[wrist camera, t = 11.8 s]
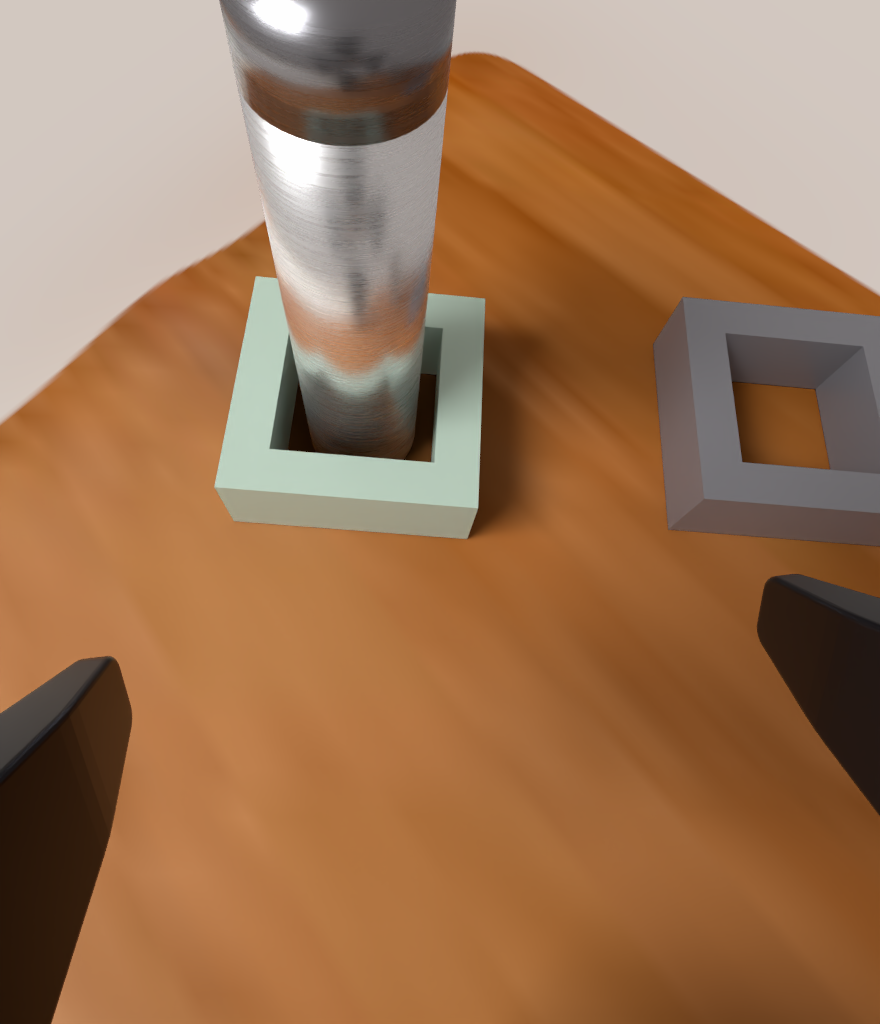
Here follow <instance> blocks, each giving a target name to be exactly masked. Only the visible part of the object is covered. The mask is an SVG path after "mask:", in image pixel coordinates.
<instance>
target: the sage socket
mask: <svg viewBox="0 0 880 1024" xmlns="http://www.w3.org/2000/svg"><path fill="white" fill-rule="evenodd" d="M484 320H485V299H483V298H472V297H462V296H452V295H442V294H431V293H428V300H427V311H426V321H425V332H424V342H423V353H422V363H421V374H432V375H436V391H435V406H434V422H433V438H432V453H431V462H420V461H408V460H396V459H384V458H372V457H360V456H348V455H336V454H324V453H312V452H300V451H288V446H289V440H290V433H291V427H292V421H293V414H294V408H295V401H296V395H297V388H298V382H299V378H298V373H297V369H296V364H295V359H294V354H293V350H292V345H291V340H290V335H289V330H288V326H287V321H286V316H285V311H284V307H283V302H282V297H281V292H280V287H279V283H278V278H268V277H258V276H256V279H255V284H254V289H253V294H252V299H251V304H250V309H249V314H248V319H247V325H246V330H245V335H244V340H243V345H242V350H241V355H240V360H239V365H238V370H237V375H236V380H235V385H234V390H233V395H232V401H231V406H230V411H229V416H228V421H227V426H226V431H225V436H224V441H223V446H222V451H221V456H220V461H219V466H218V472H217V477H216V482H215V489H216V491H217V493H218V494H219V496H220V498H221V499H222V501H223V503H224V505H225V506H226V508H227V510H228V511H229V513H230V515H231V517H232V518H233V520H234V521H240V522H253V523H266V524H279V525H292V526H305V527H318V528H331V529H344V530H357V531H370V532H383V533H396V534H408V535H421V536H434V537H447V538H460V539H467V538H468V535H469V532H470V530H471V527H472V524H473V521H474V519H475V516H476V513H477V510H478V500H479V470H480V440H481V410H482V380H483V350H484Z"/></svg>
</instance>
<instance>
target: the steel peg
mask: <svg viewBox="0 0 880 1024" xmlns="http://www.w3.org/2000/svg"><path fill="white" fill-rule="evenodd" d="M219 1H220V5H221V10H222V15H223V19H224V24H225V29H226V34H227V39H228V44H229V48H230V53H231V58H232V62H233V68H234V72H235V77H236V82H237V87H238V91H239V96H240V101H241V106H242V111H243V115H244V120H245V125H246V129H247V134H248V139H249V144H250V149H251V154H252V158H253V163H254V168H255V173H256V178H257V182H258V187H259V192H260V197H261V201H262V206H263V211H264V216H265V221H266V225H267V230H268V235H269V240H270V244H271V249H272V254H273V259H274V264H275V268H276V273H277V278H278V283H279V287H280V292H281V297H282V302H283V307H284V311H285V316H286V321H287V326H288V330H289V335H290V340H291V345H292V350H293V354H294V359H295V364H296V369H297V373H298V378H299V383H300V388H301V393H302V397H303V402H304V407H305V412H306V416H307V421H308V426H309V431H310V436H311V440H312V443H313V446H314V448H315V450H316V452H317V453H324V454H336V455H348V456H360V457H372V458H384V459H396V460H403V459H404V458H405V457H406V456H407V454H408V453H409V451H410V449H411V447H412V444H413V441H414V436H415V426H416V415H417V405H418V395H419V384H420V374H421V363H422V353H423V342H424V332H425V321H426V311H427V300H428V290H429V280H430V269H431V259H432V248H433V238H434V227H435V217H436V206H437V196H438V186H439V175H440V165H441V154H442V144H443V133H444V123H445V112H446V102H447V91H448V81H449V71H450V60H451V49H452V38H453V29H454V28H453V27H454V18H455V8H456V0H219Z"/></svg>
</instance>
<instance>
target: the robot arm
mask: <svg viewBox="0 0 880 1024" xmlns="http://www.w3.org/2000/svg"><path fill="white" fill-rule="evenodd" d="M757 632H758V637H759V639H760V642H761V644H762V646H763V647H764V649H765V650H766V652H767V654H768V655H769V657H770V659H771V660H772V662H773V663H774V665H775V667H776V668H777V670H778V672H779V673H780V675H781V676H782V678H783V680H784V681H785V683H786V685H787V686H788V688H789V689H790V691H791V693H792V694H793V696H794V698H795V699H796V701H797V702H798V704H799V706H800V707H801V709H802V711H803V712H804V714H805V715H806V717H807V718H808V720H809V722H810V723H811V725H812V726H813V728H814V729H815V731H816V732H817V733H818V735H819V736H820V738H821V739H822V740H823V742H824V743H825V744H826V746H827V747H828V748H829V750H830V751H831V752H832V754H833V755H834V756H835V758H836V759H837V760H838V762H839V763H840V764H841V766H842V767H843V768H844V770H845V771H846V772H847V774H848V775H849V776H850V777H851V779H852V780H853V781H854V783H855V784H856V785H857V787H858V788H859V789H860V791H861V792H862V793H863V795H864V796H865V797H866V799H867V800H868V801H869V803H870V804H871V805H872V806H873V808H874V809H875V810H876V812H877V813H878V814H879V816H880V598H877V597H874V596H871V595H867V594H864V593H860V592H857V591H854V590H850V589H847V588H844V587H840V586H837V585H834V584H830V583H827V582H823V581H820V580H817V579H813V578H810V577H807V576H803V575H799V574H790V575H782V576H774V577H771V578H770V579H768V580H767V582H766V583H765V586H764V590H763V595H762V601H761V606H760V612H759V617H758V623H757ZM131 726H132V710H131V705H130V701H129V698H128V694H127V691H126V687H125V684H124V680H123V677H122V673H121V670H120V667H119V664H118V662H117V661H116V659H114V658H113V657H111V656H105V657H96V658H88V659H81V660H78V661H77V662H75V663H74V664H72V665H71V666H69V667H68V668H66V669H65V670H63V671H62V672H60V673H59V674H58V675H56V676H55V677H53V678H52V679H50V680H49V681H47V682H46V683H44V684H43V685H41V686H40V687H38V688H37V689H36V690H34V691H33V692H31V693H30V694H28V695H27V696H25V697H24V698H22V699H21V700H19V701H18V702H17V703H15V704H14V705H12V706H11V707H9V708H8V709H6V710H5V711H3V712H2V713H0V1024H51V1022H52V1019H53V1016H54V1013H55V1010H56V1007H57V1003H58V1000H59V997H60V994H61V991H62V988H63V984H64V981H65V978H66V975H67V972H68V969H69V966H70V962H71V959H72V956H73V953H74V950H75V947H76V943H77V940H78V937H79V934H80V931H81V928H82V924H83V921H84V918H85V915H86V912H87V909H88V905H89V902H90V899H91V896H92V893H93V890H94V886H95V883H96V880H97V877H98V874H99V871H100V867H101V864H102V861H103V858H104V855H105V851H106V848H107V844H108V841H109V837H110V833H111V829H112V824H113V820H114V815H115V810H116V804H117V799H118V794H119V789H120V784H121V778H122V773H123V768H124V763H125V758H126V752H127V747H128V742H129V737H130V732H131Z"/></svg>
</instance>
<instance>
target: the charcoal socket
mask: <svg viewBox="0 0 880 1024" xmlns="http://www.w3.org/2000/svg"><path fill="white" fill-rule="evenodd" d="M653 348H654V361H655V373H656V385H657V397H658V410H659V422H660V434H661V446H662V459H663V471H664V483H665V495H666V508H667V520H668V530H681V531H693V532H706V533H718V534H731V535H744V536H756V537H769V538H781V539H794V540H807V541H819V542H832V543H844V544H857V545H870V546H880V317H879V316H869V315H859V314H849V313H839V312H829V311H819V310H809V309H799V308H789V307H779V306H769V305H759V304H749V303H739V302H729V301H719V300H708V299H698V298H688V297H683V298H682V299H681V301H680V302H679V304H678V306H677V307H676V309H675V310H674V312H673V314H672V315H671V317H670V318H669V320H668V322H667V323H666V325H665V326H664V328H663V329H662V331H661V333H660V334H659V336H658V337H657V339H656V341H655V342H654V344H653ZM732 381H733V382H744V383H755V384H766V385H777V386H787V387H798V388H809V389H816V395H817V400H818V406H819V411H820V416H821V422H822V427H823V432H824V438H825V443H826V448H827V454H828V459H829V465H830V470H827V469H816V468H804V467H792V466H781V465H769V464H757V463H746V462H742V456H741V449H740V441H739V433H738V426H737V418H736V411H735V403H734V395H733V388H732Z"/></svg>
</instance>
